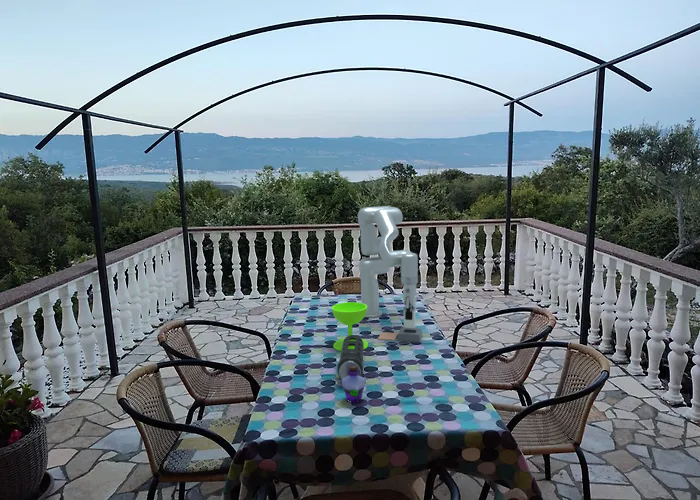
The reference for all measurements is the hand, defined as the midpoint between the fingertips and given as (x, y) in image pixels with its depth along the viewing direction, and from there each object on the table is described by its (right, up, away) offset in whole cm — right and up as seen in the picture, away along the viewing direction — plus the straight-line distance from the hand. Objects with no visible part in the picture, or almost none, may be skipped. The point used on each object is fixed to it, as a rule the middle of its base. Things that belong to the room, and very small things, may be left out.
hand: (409, 317), depth 221 cm
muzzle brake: (-27, -16, -33) cm, 46 cm away
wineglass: (-27, -12, -5) cm, 30 cm away
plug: (0, -4, +1) cm, 4 cm away
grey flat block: (0, -10, +1) cm, 10 cm away
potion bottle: (-26, -20, -57) cm, 66 cm away
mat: (-10, -10, +4) cm, 14 cm away
